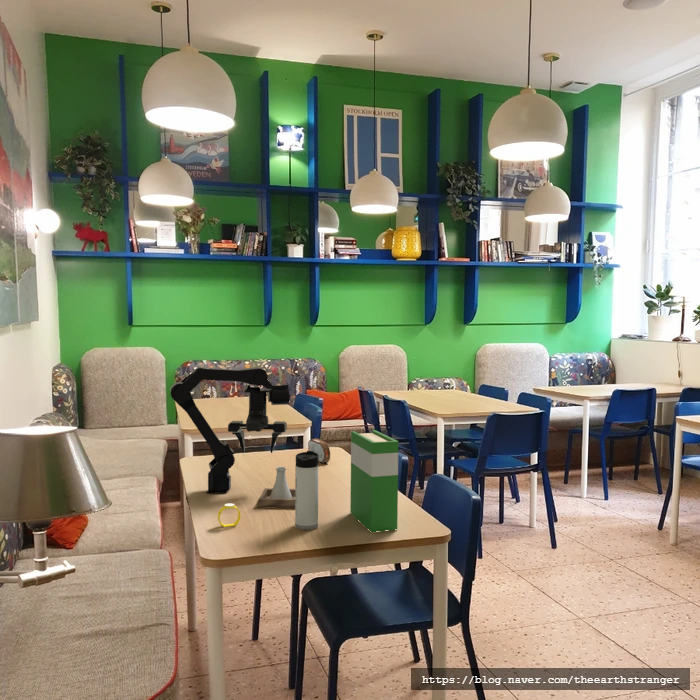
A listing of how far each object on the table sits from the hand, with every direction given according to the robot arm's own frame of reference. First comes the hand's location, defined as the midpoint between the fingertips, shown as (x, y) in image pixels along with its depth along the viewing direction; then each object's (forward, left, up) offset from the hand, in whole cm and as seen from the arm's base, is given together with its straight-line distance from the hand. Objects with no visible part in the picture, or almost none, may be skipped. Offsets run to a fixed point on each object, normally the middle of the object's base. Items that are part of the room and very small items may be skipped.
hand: (257, 452), depth 206 cm
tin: (+17, +42, -12) cm, 47 cm away
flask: (+10, -15, -12) cm, 21 cm away
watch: (-1, -38, -12) cm, 40 cm away
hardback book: (+38, -32, -12) cm, 51 cm away
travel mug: (+20, -37, -12) cm, 44 cm away
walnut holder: (+10, -15, -12) cm, 22 cm away
